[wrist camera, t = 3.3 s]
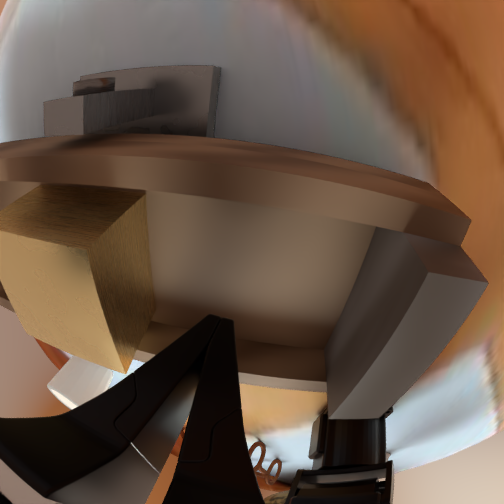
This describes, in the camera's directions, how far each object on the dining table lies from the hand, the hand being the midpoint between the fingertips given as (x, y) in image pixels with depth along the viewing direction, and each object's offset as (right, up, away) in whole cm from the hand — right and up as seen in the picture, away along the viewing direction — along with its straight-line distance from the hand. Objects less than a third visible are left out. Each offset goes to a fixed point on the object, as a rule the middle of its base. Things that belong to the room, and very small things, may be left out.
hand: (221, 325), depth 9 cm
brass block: (-6, +3, +3) cm, 7 cm away
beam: (-6, +3, +3) cm, 7 cm away
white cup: (-19, -12, +20) cm, 30 cm away
